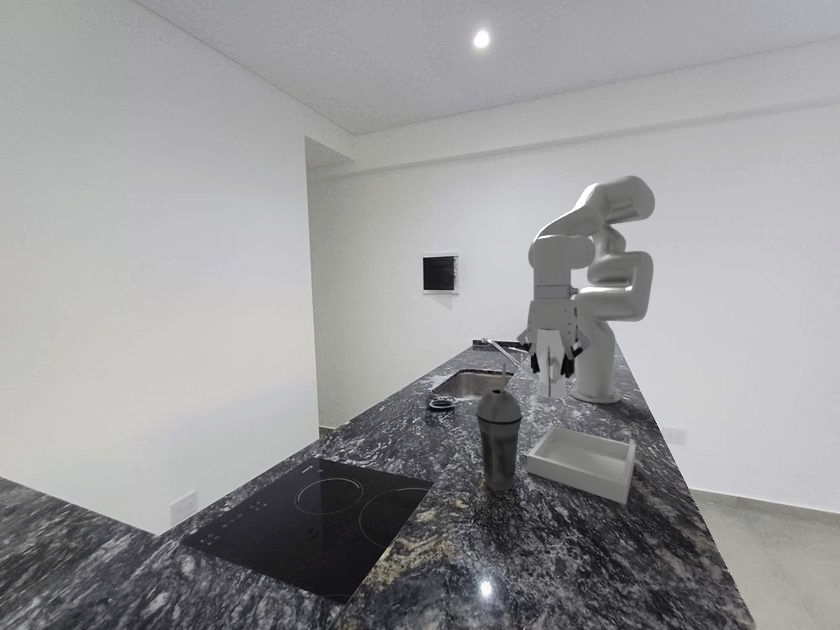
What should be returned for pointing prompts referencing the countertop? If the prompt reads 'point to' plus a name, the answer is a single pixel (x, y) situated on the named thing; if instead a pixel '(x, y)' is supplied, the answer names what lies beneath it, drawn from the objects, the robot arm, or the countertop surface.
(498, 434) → the beverage cup
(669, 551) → the countertop surface
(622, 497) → the tray
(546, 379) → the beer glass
